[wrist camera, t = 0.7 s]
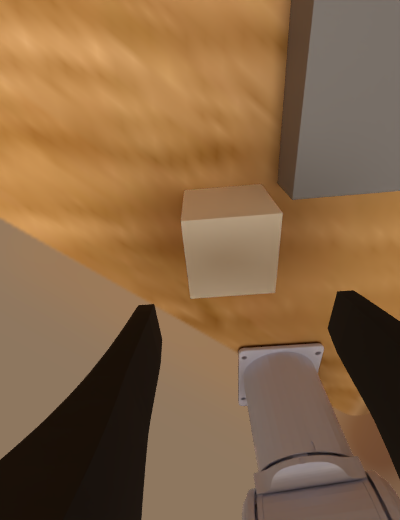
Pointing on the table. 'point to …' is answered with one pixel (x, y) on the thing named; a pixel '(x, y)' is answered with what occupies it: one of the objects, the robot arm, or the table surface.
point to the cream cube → (231, 240)
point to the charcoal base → (341, 99)
